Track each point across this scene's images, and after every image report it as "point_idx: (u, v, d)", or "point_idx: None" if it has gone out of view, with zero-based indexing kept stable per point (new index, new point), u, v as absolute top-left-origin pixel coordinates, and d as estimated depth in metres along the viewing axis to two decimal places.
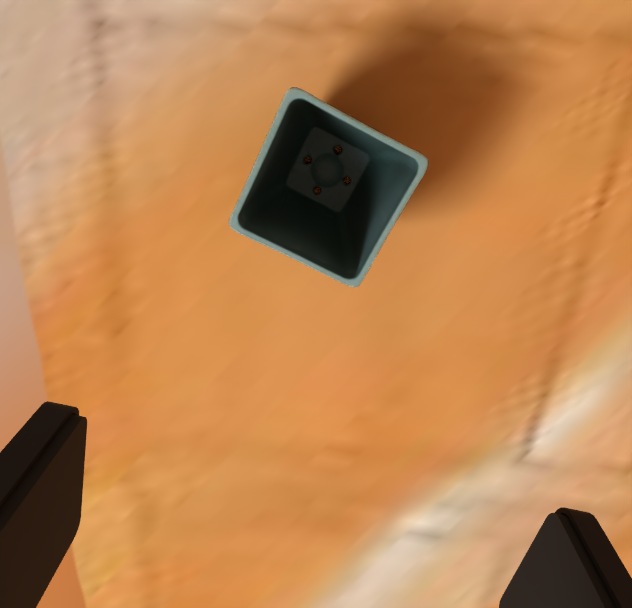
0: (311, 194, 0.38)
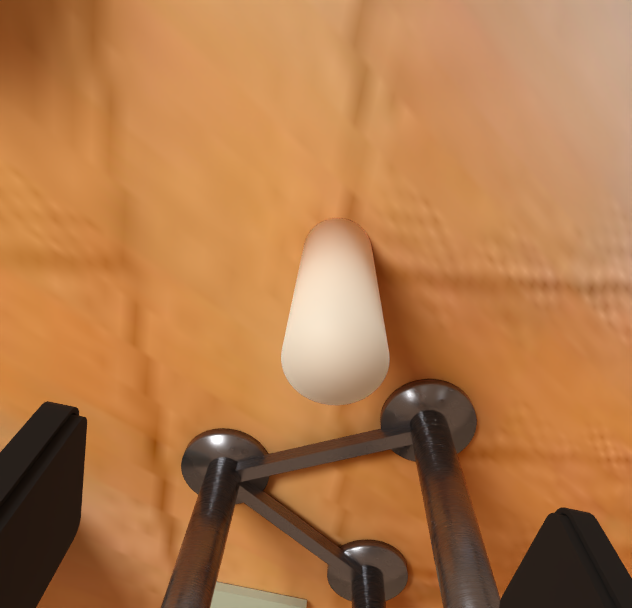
0: None
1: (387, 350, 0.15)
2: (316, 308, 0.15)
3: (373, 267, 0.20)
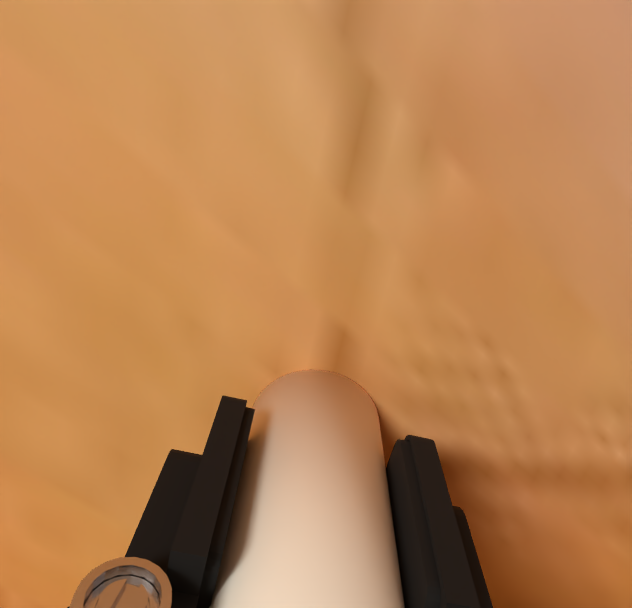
0: None
1: None
2: None
3: (390, 537, 0.09)
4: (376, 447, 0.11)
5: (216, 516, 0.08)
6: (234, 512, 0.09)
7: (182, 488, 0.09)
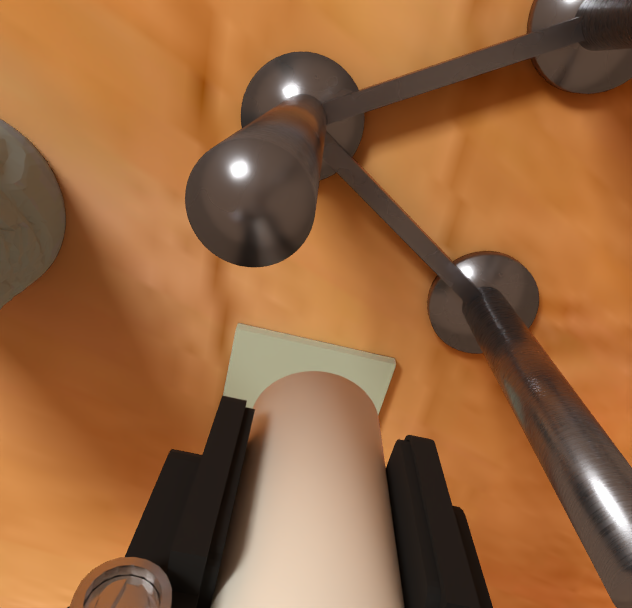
0: None
1: None
2: None
3: (390, 539, 0.09)
4: (376, 449, 0.11)
5: (216, 516, 0.08)
6: (234, 514, 0.09)
7: (182, 488, 0.09)
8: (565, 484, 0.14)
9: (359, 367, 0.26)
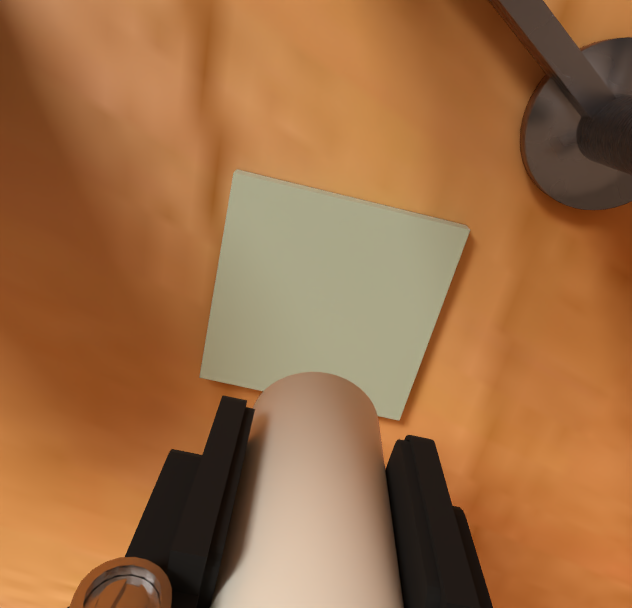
0: None
1: None
2: None
3: (390, 541, 0.09)
4: (376, 450, 0.11)
5: (216, 516, 0.08)
6: (233, 515, 0.09)
7: (183, 488, 0.09)
8: None
9: (415, 236, 0.18)
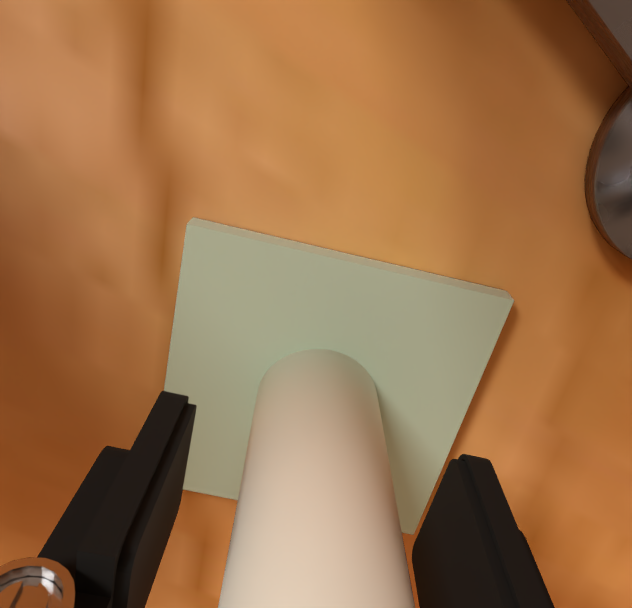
0: None
1: None
2: None
3: (391, 494, 0.10)
4: (376, 417, 0.12)
5: (134, 514, 0.08)
6: (249, 475, 0.10)
7: (111, 486, 0.09)
8: None
9: (439, 308, 0.13)
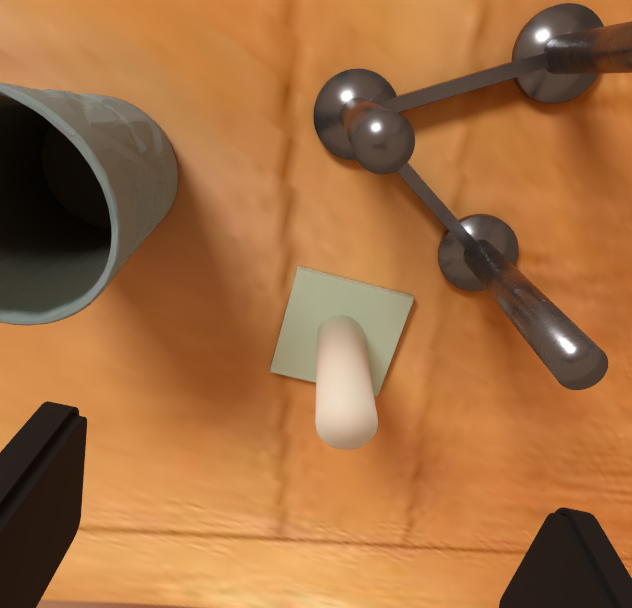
0: None
1: (377, 419, 0.27)
2: (336, 394, 0.27)
3: (366, 356, 0.32)
4: (362, 338, 0.34)
5: None
6: (321, 349, 0.32)
7: None
8: (532, 330, 0.23)
9: (387, 301, 0.35)
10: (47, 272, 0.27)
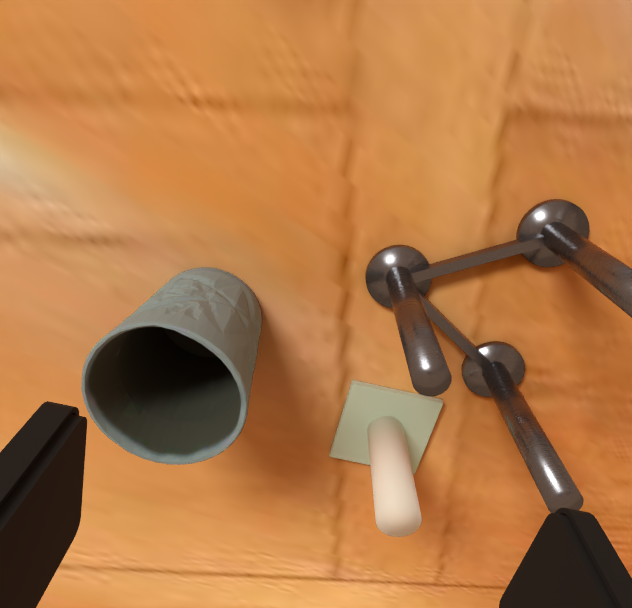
0: None
1: None
2: (391, 499, 0.37)
3: (408, 455, 0.42)
4: (404, 436, 0.44)
5: None
6: (374, 450, 0.42)
7: None
8: (532, 466, 0.32)
9: (422, 405, 0.45)
10: (179, 413, 0.37)
